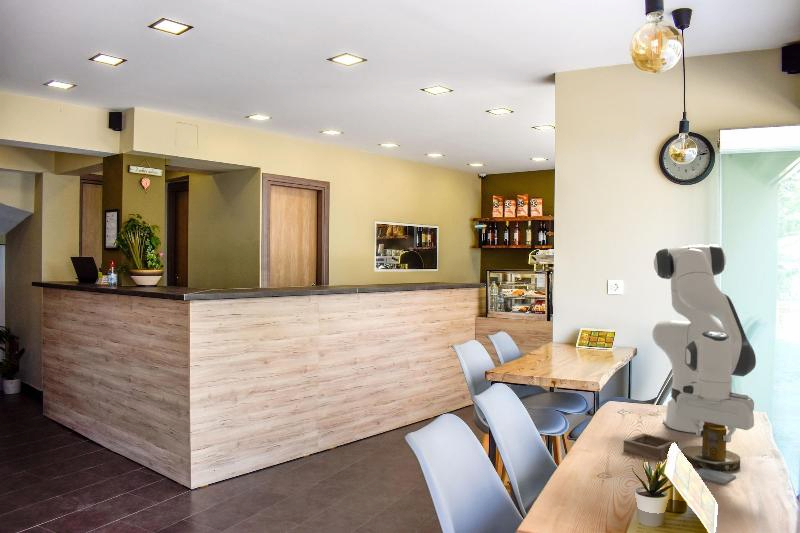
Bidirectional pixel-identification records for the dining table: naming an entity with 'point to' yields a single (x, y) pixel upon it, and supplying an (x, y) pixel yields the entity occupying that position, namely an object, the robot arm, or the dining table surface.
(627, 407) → the dining table surface
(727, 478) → the coaster
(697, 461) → the round cork trivet
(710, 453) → the condiment
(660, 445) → the holder
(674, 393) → the robot arm
